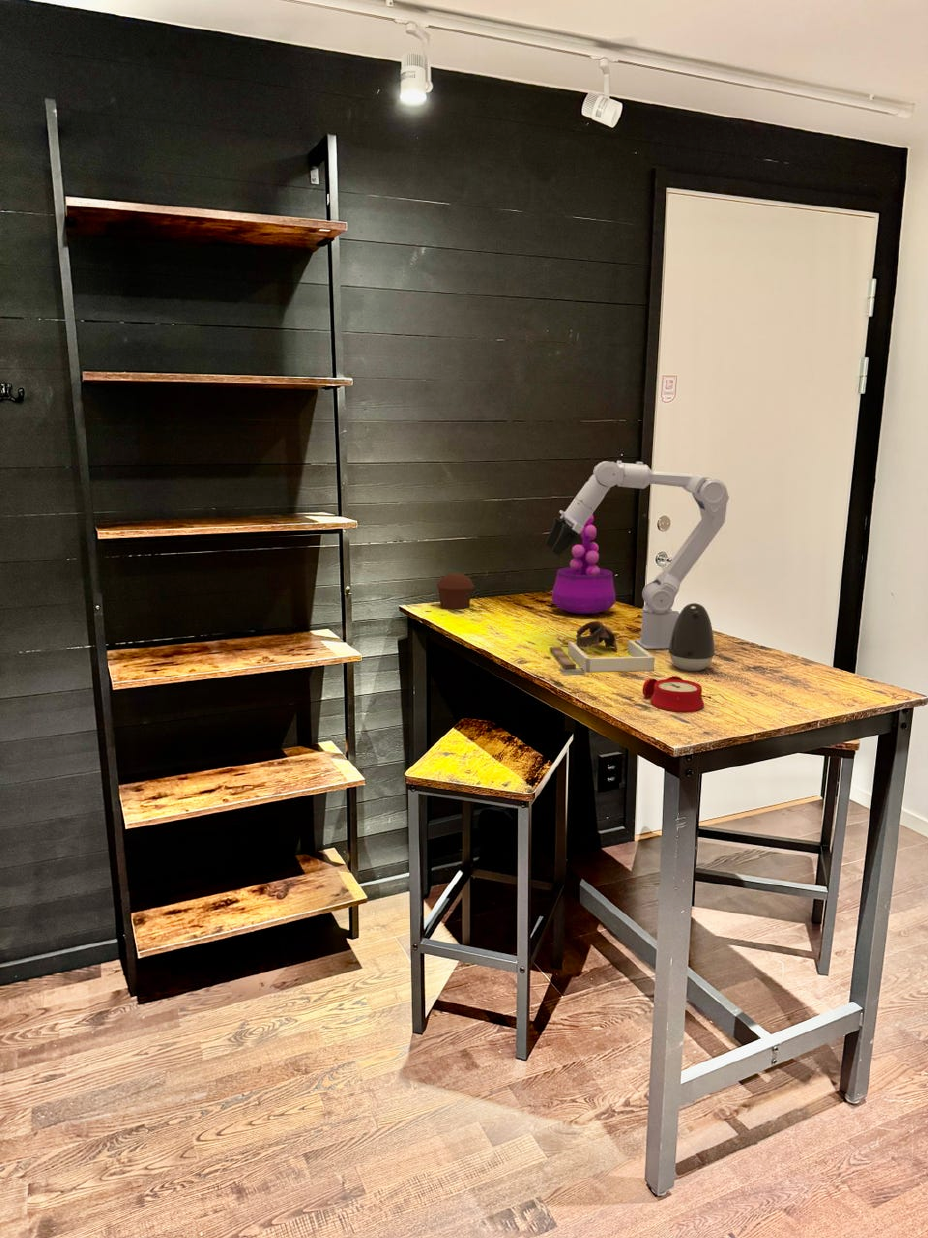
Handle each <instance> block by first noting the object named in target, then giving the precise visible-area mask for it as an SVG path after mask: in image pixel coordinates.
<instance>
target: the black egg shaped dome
mask: <svg viewBox="0 0 928 1238" xmlns="http://www.w3.org/2000/svg"><path fill="white" fill-rule="evenodd" d="M713 631H714V630H713V627H712V622H711V618H710V616H709V614H708V611H707V610H706V608H705V607H704V606H703V605H702V604H699V603H695V602H693V603H688V604H687V605H685V606H684V607H683V609H682V610H681V611H680V612H679V616H678V618H677V620H676V623H675V626H674V629H673V632H672V635H671V639H670V643H669V648H668V653H669V656H670V659H671V662H672V664H673V666H675V667H677V668H678V669H680V670H682V671H687V672H699V671H703V670H704V669H706V668H707V667H708V666H709V665H710V664H711V663H712V661H713V657H714V656H715V651H716V649H715V637H714V632H713Z"/></svg>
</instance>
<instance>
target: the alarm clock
mask: <svg viewBox="0 0 928 1238" xmlns="http://www.w3.org/2000/svg"><path fill="white" fill-rule="evenodd" d="M641 689H642V691H641V692H642V694H643V696H644V698H645V699H648V697H650V701H649V702H650V704H651V705H652V706H654V707H656V708H659V709H662V710H666V711H670V712H671V711H672V712H682V713H683V712H685V713H687V712H690V713H691V714H692V713H695V712H696V711H699V710H702V709H703V708H704V706H705V701H704V700H703V698H706V699H707V698H708V699H709V700H711V698H712V696H707V695H703V694H702V692H703V689H702V685H701V684H699V683H698V682H695V681H691V680H687V679H683V678H682V677H680V676H678V675H677V676H676V675H674V676H673V675H671V676H669V677H668V678H665V679H660V680H657V679H656V678H654V677H653V678H648V679H646V680H645V681H644V683H643V685H642V688H641Z"/></svg>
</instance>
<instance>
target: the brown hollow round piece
mask: <svg viewBox="0 0 928 1238" xmlns="http://www.w3.org/2000/svg"><path fill="white" fill-rule="evenodd" d="M586 631H589V633H590V634H589V635H585V636H582V634H584V633H585V632H586ZM575 637H576V638H577V639H576V643H575V644H576V645H577V646H578V647H579V648H580V649H581V648H587V647H591V646H593V645H597V646H601V643H602V642H604V646H605V647H606V648H614V653H617V651H618V647H617V641H616V637H615V635H614V633H613V630H611V628H610V627H608V626H606V625H604V624H603V622H602V621H600V620H594V621H593V620H592V621H588V622H587V623H585V624H583V625H582V626H580V627H579V628H578V629H577V631H576V635H575Z"/></svg>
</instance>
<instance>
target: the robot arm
mask: <svg viewBox="0 0 928 1238" xmlns="http://www.w3.org/2000/svg"><path fill="white" fill-rule="evenodd" d="M649 485H659V486H660V485H661V486H668V487H670V486H671V487H678V488H682V489H683V490H685V492H688V493H691V495H692V498H693V500H694V501H695V502H696V504H697V506H698V509H699V513H700V518H701V520H699V522H698V523H697V525H696V526H695V528H694V529H693V530H692V531H691V533H690V535H689V536H688V537H687V539H686V540H685V541H684V542H683V544H682V545H681V546H680V548H679V549H678V551H677V552H676V554H675V555H674V556H673V558H672V559H671V561H670V562H669V563H668V564H667V566H666V567H665V569H664V570H663V571H662V572H661V573H658V575H656V577H655V578H654V579H653V580H652V581H650V582H648V583H646V585H644V587H643V589H642V591H641V596H642V599H643V601H644V605H643V607H642V609H641V611H642V613H641V623H640V624H641V626H640V639H634V642H635V643H636V644H638V645H639V646H640V647H642V648H643V649H644V650H651V649H652V650H654V649H655V650H656V649H659V650H661V649H662V650H663V649H667V650H668V649H669V643H670V639H671V635H672V632H673V629H674V626H675V623H676V620H677V618H678V616H679V614H680V612H679V611H678V610H673V609H672V608H673V605H674V603H675V598H676V595H677V594H678V593H679V591H680V586H681V584H682V582H683V580H684V579H685V578H686V576H687V575H688V574H689V572H690V571H691V570H692V568H693V567H694V565H695V564H696V563H697V562H698V560H699V558H700V557H701V556H702V554H703V553H704V552H705V551H706V549H707V548H708V547H709V545H710V544H711V543H712V541H713V540H714V538H715V537H716V536H717V534H718V533H719V532H720V531H721V529H722V527H723V526H724V524H725V521H726V514H727V506H728V505H727V504H728V501H729V498H730V497H729V493H728V490H727V487H726V485H725V483H724V482H723V481H721V480H719V479H718V478H717V479H716V478H711V477H708V476H707V477H706V476H702V475H698V474H694V473H689V472H677V471H676V472H674V471H659V470H656V471H655V470H652V469H651V468H650V467H649V465H647V464H644V462H643V461H636V462H635V463H629V462H627V463H626V462H622V460H617V461H616V462H615V461H608V460H606V461H604V460H603V461H602V462H599V463H598V464H597V465H595V466H594V468H593V472H592V475H591V476H590V477H588V481H586V482H585V483H584V485H583V486H582V488H581V489H580V490H579V491H578V493H577V494H576V496H575V498H574V499H573V500H572V502H571V503H570V505H568V507H567V509H566V510H565V511H564V510H561V509H560V510H559V513H560V514H561V515H560V517H559V518H560V519H559V518H558V517H556V516H554V517H553V522H552V523H553V524H552V525H551V528H550V529H551V530H550V532H549V534H548V537H547V539H546V542H545V545H546V546H548V547H549V548H551V552H552V553H554V554H556V556H561V554H563V553H564V552H565V551H566V550H567V549H568V548H570V547H571V546H572V545H573V544H575V543H577V542H579V541H581V540H583V538H582V536H581V534H580V532H581V531H582V530H583V528H584V525H586V524H585V523H586V522H587V520H588V519H589V518H590V516H591V515H593V514H594V512H595V511H596V509H597V508H598V507H599V505H600V504H601V502H602V501H603V500H604V498H605V496H606V494H607V493H608V492H609V491H610V489H611V488H613V487H614V486H617V487H622V488H633V489H645V488H647V487H648V486H649Z"/></svg>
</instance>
